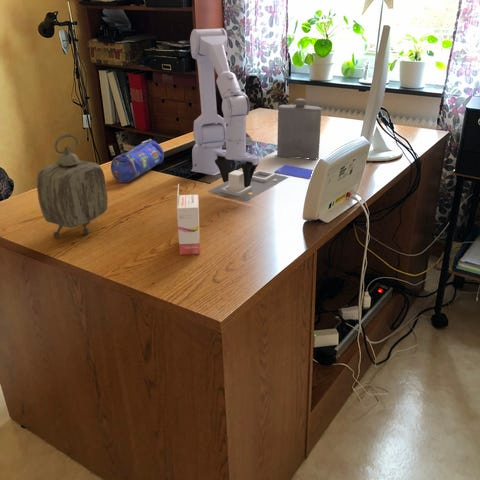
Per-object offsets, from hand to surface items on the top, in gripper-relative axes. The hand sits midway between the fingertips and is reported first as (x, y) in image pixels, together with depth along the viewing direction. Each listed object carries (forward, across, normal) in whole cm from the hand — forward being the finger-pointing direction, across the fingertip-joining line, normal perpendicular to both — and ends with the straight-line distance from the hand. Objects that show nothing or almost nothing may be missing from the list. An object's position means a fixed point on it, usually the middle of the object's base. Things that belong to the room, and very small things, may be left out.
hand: (236, 183), depth 159 cm
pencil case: (+3, -37, -3) cm, 37 cm away
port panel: (+3, 0, +7) cm, 8 cm away
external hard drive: (+3, -33, +40) cm, 52 cm away
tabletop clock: (+3, -17, -44) cm, 48 cm away
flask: (+3, -2, +42) cm, 42 cm away
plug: (+2, 0, 0) cm, 2 cm away
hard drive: (+3, +7, +25) cm, 26 cm away
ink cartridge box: (+3, +11, -36) cm, 37 cm away
